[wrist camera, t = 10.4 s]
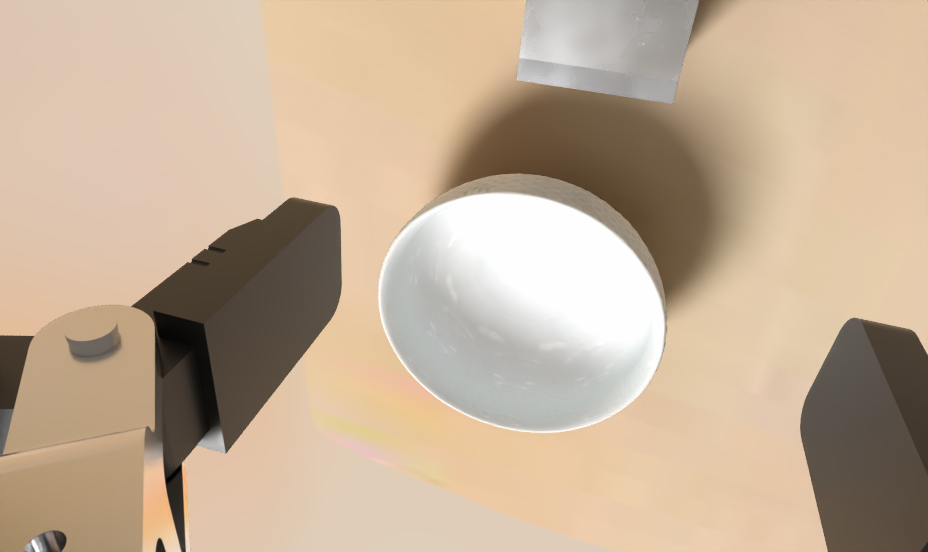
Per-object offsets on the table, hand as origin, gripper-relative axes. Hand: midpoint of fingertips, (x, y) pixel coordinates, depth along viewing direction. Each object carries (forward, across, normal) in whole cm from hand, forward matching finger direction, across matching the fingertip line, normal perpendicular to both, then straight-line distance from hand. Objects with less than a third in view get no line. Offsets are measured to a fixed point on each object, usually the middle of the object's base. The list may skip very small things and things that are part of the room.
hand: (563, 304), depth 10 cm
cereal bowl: (+28, +3, +16) cm, 33 cm away
